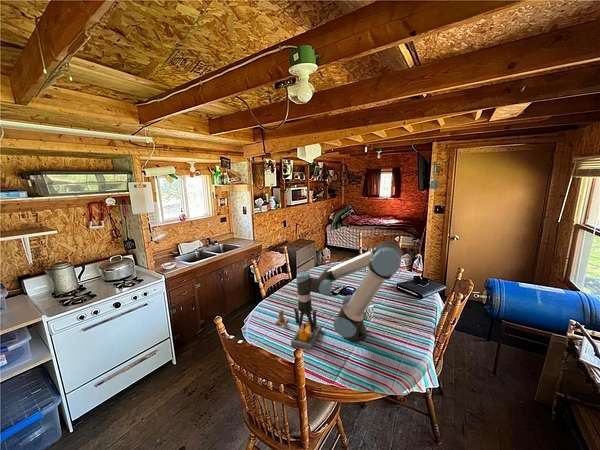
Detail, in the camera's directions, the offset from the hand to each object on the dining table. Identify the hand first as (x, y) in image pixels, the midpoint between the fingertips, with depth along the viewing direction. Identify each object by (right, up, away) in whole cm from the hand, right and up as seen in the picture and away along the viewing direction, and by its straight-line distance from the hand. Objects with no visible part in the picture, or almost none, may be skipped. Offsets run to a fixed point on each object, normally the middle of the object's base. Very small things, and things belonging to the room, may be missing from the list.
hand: (306, 335), depth 144 cm
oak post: (-16, +1, +17) cm, 23 cm away
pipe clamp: (0, 0, +1) cm, 1 cm away
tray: (0, -2, 0) cm, 2 cm away
